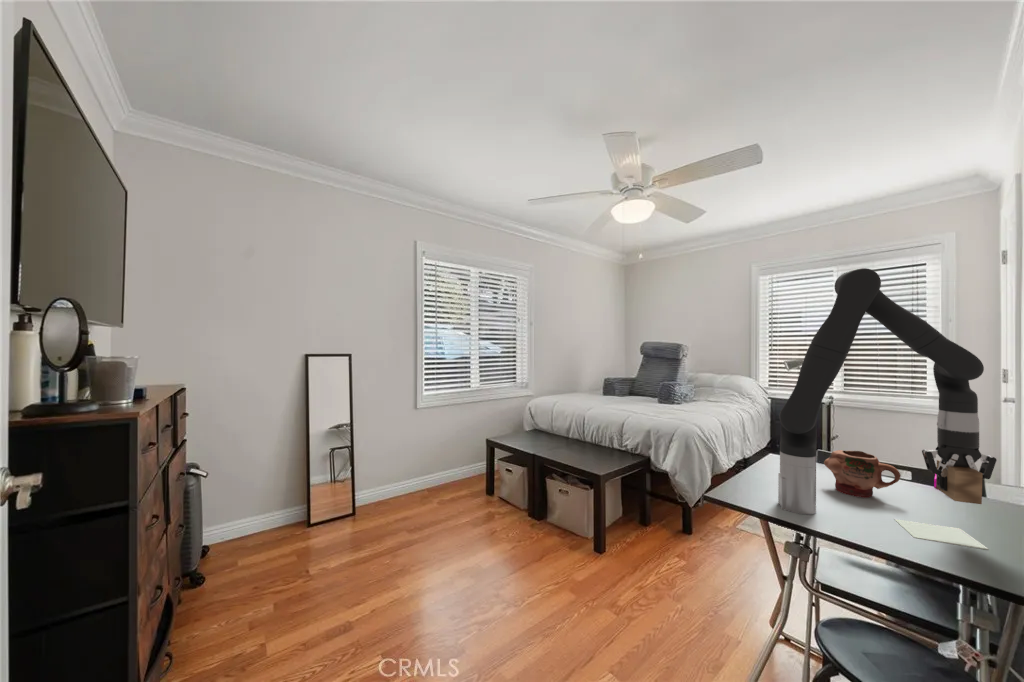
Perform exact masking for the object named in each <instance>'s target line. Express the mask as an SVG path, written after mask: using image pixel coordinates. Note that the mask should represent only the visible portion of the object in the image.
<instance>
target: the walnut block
mask: <svg viewBox="0 0 1024 682" xmlns="http://www.w3.org/2000/svg"><path fill="white" fill-rule="evenodd" d="M940 461H941V459H936V467H937V469H938V467H939V462H940ZM943 464H944V465H946V464H945V463H943ZM982 475H983V473H981V472H979V470H978V471H977V470H975V469H970V468H969V467H968V468H967V467H962V466H953V467H949V468H948V474H947V476H946V477H947V491H943V490H942V489H940V487H938V485H937V475H936V489H937V490H938V491H939V492H941V493H942V494H944V495H945V496H947V497H948V498H950V499H951V500H953V501H954V502H957V503H958V502H959V503H967V504H976V505H982V504H983V503H982V502H983V500H982V499H983V479H982Z"/></svg>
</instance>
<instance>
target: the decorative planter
mask: <svg viewBox="0 0 1024 682" xmlns="http://www.w3.org/2000/svg"><path fill="white" fill-rule="evenodd" d="M823 464H824V466H825V467H826V468H827V469H828V470H830V472H831V473H832V474H833V477H834V478H835V483H834V486H835V487H834V488H835V489H836V491H838V492H840V493H842V494H844V495H848V496H851V497H857V498H861V499H864V498H865V499H867V498H871V497H873V494H874V490H873V489H874V488H875V489H877V490H879V489H884V488H888V487H889V486H892V485H895V484H896V483H898V482H899V481H900V479H901V477H902V475H901V473H900V471H899V470H898V468H896V467H894V466H893V465H890V464H887V463H882V462H880V461H879V458H878V457H877V456H875V455H874V454H871V453H867V452H864V451H861V450H842V449H841V450H839V449H838V450H833V451H831V452H830V455H829V456H828V458H826V459H825V460H824V461H823ZM884 471H887V472H891V474H893V476H894V479H893V480H892V481H887V482H885V481H883V478H882V477H883V476H882V473H883V472H884Z"/></svg>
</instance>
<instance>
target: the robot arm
mask: <svg viewBox="0 0 1024 682" xmlns="http://www.w3.org/2000/svg"><path fill="white" fill-rule="evenodd" d="M881 286H882V281H881V277H880V275H879V274H878V273H877V271H875V270H873V269H871V268H868V267H862V268H861V267H859V268H854V269H852V270H851V269H850V270H849V271H846V272H843V273H842V274H840V275H839V276H838V278H837V279H836V280H835V282H834V292H835V293H836V298H835V300H834V303H833V307H832V309H831V311H830V312H829V314H828V316H827V318H826V319H825V321H824V322H823V323H822V324H821V326H820V327H819V329H818V330H817V331H816V333H815V335H814V336H813V338H812V340H811V342H810V344H809V346H808V349H807V351H806V353H805V355H804V359H802V360H803V361H802V364H801V366H800V370H799V374H798V377H797V382H796V383H795V386H794V387H793V388H794V389H793V390H792V392H791V393H790V396H789V398H788V399H787V401H786V402H785V404H784V405H783V407H782V408H781V409H780V410H779V417H778V419H779V421H780V440H779V473H778V480H777V482H778V487H777V492H778V493H777V494H778V496H777V498H778V499H777V500H778V501H777V503H778V502H779V503H778V504H780V505H779V507H780V506H781V507H780V509H781V508H782V510H784V509H786V510H785V511H788V510H789V511H788V512H791V513H795V514H799V515H815V514H817V513H816V512H817V444H818V443H817V442H818V441H817V439H818V438H817V437H818V435H817V430H818V428H817V425H818V423H817V421H818V420H817V419H818V414H819V411H820V408H821V404H822V401H823V400H824V396H825V394H826V393H827V391H828V390H829V388H830V387H831V386H832V384H833V383H834V381H835V379H836V378H837V376H838V375H839V372H840V371H841V369H842V367H843V365H844V364H845V361H846V359H847V356H848V354H849V352H850V350H851V347H852V345H853V343H854V340H855V338H856V335H857V332H858V330H859V327H860V324H861V322H862V319H863V318H864V316H865V314H868V315H869V316H870V317H872V318H874V319H875V320H876V321H877V322H879V323H880V324H881V325H882V326H883V327H885V328H886V329H887V330H888V331H889V332H891V334H893V335H894V336H895V337H897V338H898V339H899V340H900V341H901V342H902V343H904V344H905V345H906V346H908V347H909V348H910V349H911V350H912V351H913V352H915V353H916V354H918V355H920V356H922V357H925V358H928V359H929V360H931V361H932V362H934V363H933V377H934V381H935V386H936V388H937V390H938V413H937V421H936V426H937V428H936V431H937V438H936V439H937V445H936V446H937V447H935V449H926V448H925V449H922V450H921V454H922V455H923V460H924V463H925V466H926V470H927V471H929V472H930V473H932V474H934V475H935V474H936V475H937V485H938V487H940V489H942V490H943V491H947V477H946V476H947V474H948V468H949V467H953V466H962V467H967V468H968V467H969V468H970V469H975V470H977V471H979V472H981V473H983V475H982V480H990V479H991V477H992V475H993V471H994V469H995V466H996V463H997V457H994V456H991V455H989V454H982V453H981V451H980V419H979V418H980V417H979V399H978V398H979V397H978V394H977V392H975V391H974V390H973V389H971V386H970V382H969V381H973V380H977V379H978V378H980V377H981V376H982V375H983V374H984V372H985V371H984V370H985V367H984V363H983V361H982V360H980V358H979V357H978V356H977V355H975V354H974V353H973V352H972V351H969V350H968V349H967V348H964V347H963V346H961V345H959V344H958V343H956V342H954V341H952V340H951V339H949V338H947V337H945V336H944V335H943V334H942V333H941V332H940V331H938V330H937V328H935V327H934V326H932V325H931V324H930V323H928V322H927V321H926V320H924V319H923V318H921V317H920V316H918V315H917V314H914V313H913V312H911V311H909V310H908V309H906V308H904V307H903V306H901V305H899V304H898V303H896V302H895V301H893V300H892V299H890V298H889V296H887V295H886V294H885V293H883V292H882V290H881ZM937 455H938V457H939V458H940V460H941V461H940V462H939V467H938V469H937V463H936V462H935V459H936V457H937ZM979 459H980V462H981V465H980V468H979V469H978V468H977V464H975V463H977V462H978V461H979ZM943 463H945V464H946V465H944V464H943Z"/></svg>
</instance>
